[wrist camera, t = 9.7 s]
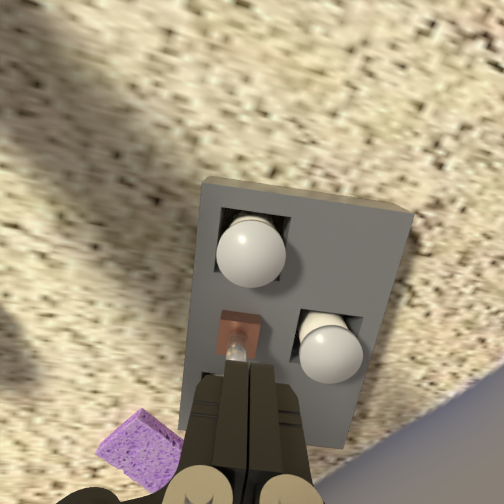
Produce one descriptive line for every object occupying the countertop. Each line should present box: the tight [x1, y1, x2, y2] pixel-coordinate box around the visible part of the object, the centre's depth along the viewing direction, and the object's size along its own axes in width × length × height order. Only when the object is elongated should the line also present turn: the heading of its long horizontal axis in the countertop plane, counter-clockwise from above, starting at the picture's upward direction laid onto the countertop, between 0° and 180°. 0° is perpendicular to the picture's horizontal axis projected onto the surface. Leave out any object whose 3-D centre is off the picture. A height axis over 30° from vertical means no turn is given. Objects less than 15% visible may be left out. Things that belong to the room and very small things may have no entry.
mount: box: [178, 176, 415, 449], centre depth 29 cm, size 22×15×4 cm
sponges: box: [95, 408, 184, 493], centre depth 36 cm, size 7×13×2 cm, turn 43°
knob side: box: [297, 309, 363, 384], centre depth 28 cm, size 5×5×6 cm
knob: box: [216, 210, 286, 288], centre depth 25 cm, size 5×5×6 cm
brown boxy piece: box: [216, 310, 261, 362], centre depth 25 cm, size 3×3×5 cm
